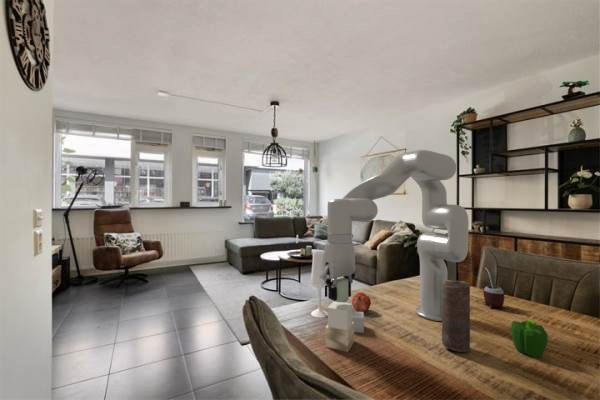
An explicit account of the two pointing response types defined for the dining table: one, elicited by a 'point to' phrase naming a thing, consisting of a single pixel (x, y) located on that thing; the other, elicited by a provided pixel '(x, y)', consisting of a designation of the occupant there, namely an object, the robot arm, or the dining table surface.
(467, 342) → the candle
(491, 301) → the mate gourd
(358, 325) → the grey cube
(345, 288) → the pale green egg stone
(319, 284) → the champagne flute
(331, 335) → the tower base
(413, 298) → the dining table surface
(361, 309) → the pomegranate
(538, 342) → the bell pepper
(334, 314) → the tower top
